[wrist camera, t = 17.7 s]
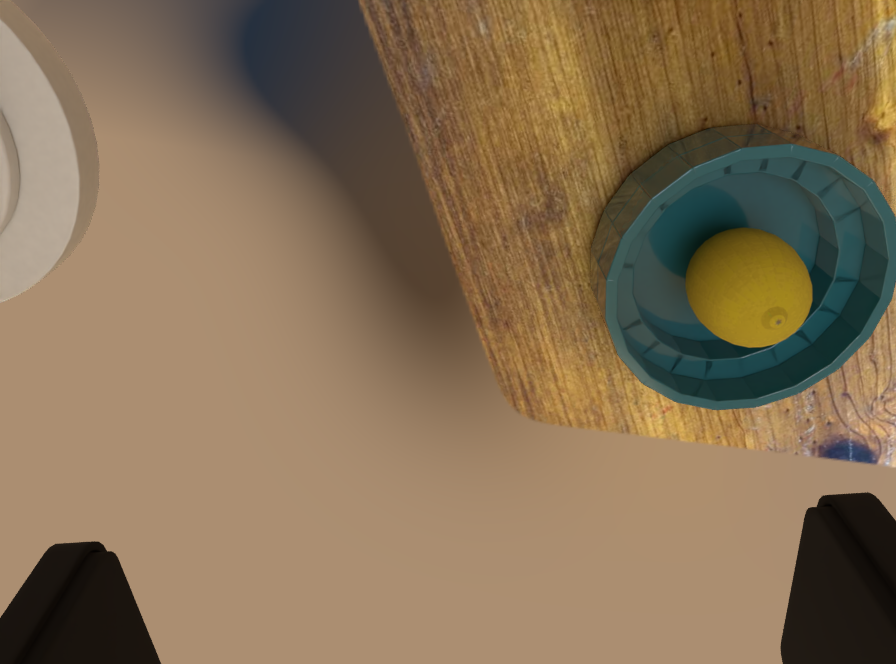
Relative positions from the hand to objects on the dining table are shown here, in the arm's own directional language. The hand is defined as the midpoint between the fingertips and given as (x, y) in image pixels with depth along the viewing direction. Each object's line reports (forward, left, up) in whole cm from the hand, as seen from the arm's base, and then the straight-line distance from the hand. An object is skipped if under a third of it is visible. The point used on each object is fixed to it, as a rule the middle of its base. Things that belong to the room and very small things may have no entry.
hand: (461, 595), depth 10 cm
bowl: (+14, -8, -30) cm, 34 cm away
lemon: (+14, -8, -30) cm, 34 cm away
